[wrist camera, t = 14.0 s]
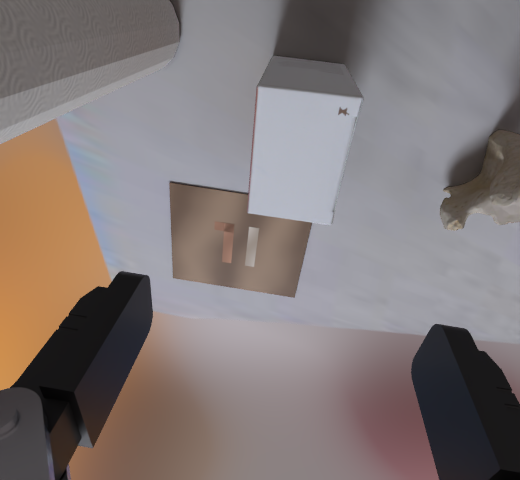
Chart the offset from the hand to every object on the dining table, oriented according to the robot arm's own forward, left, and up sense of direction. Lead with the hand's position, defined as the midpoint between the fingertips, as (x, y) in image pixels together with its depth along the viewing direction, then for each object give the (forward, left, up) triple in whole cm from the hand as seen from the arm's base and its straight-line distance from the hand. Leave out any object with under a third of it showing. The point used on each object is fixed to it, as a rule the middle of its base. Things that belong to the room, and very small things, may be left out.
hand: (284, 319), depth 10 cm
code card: (+4, +14, -22) cm, 27 cm away
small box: (0, 0, -23) cm, 23 cm away
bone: (-16, +3, -23) cm, 28 cm away
